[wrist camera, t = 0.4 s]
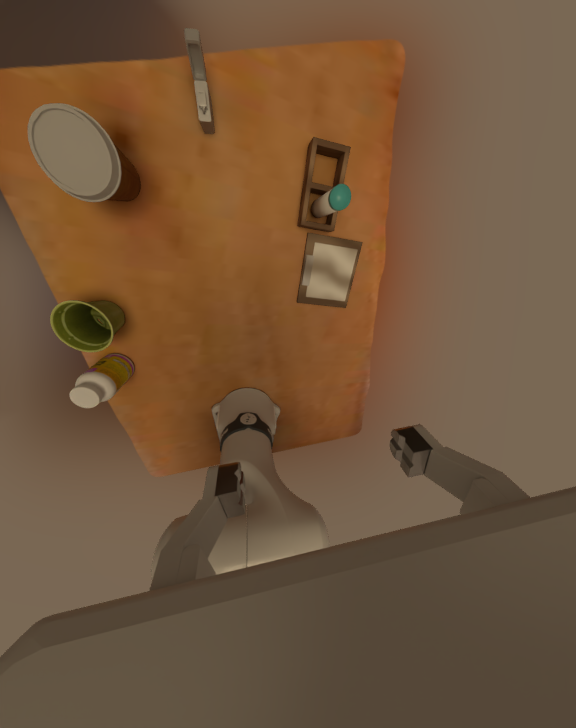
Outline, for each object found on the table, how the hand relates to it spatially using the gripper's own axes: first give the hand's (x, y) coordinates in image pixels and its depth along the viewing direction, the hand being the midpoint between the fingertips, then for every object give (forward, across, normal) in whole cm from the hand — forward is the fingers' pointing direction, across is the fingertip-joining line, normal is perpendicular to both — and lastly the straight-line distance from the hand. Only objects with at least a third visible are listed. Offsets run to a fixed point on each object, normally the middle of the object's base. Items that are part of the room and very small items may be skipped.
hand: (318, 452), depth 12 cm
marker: (+44, +13, +14) cm, 48 cm away
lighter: (+44, -4, +30) cm, 54 cm away
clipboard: (+44, +15, +2) cm, 47 cm away
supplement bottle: (+44, -36, -12) cm, 58 cm away
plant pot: (+44, -33, 0) cm, 55 cm away
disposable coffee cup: (+44, -21, +22) cm, 54 cm away
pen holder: (+44, +13, +17) cm, 49 cm away
